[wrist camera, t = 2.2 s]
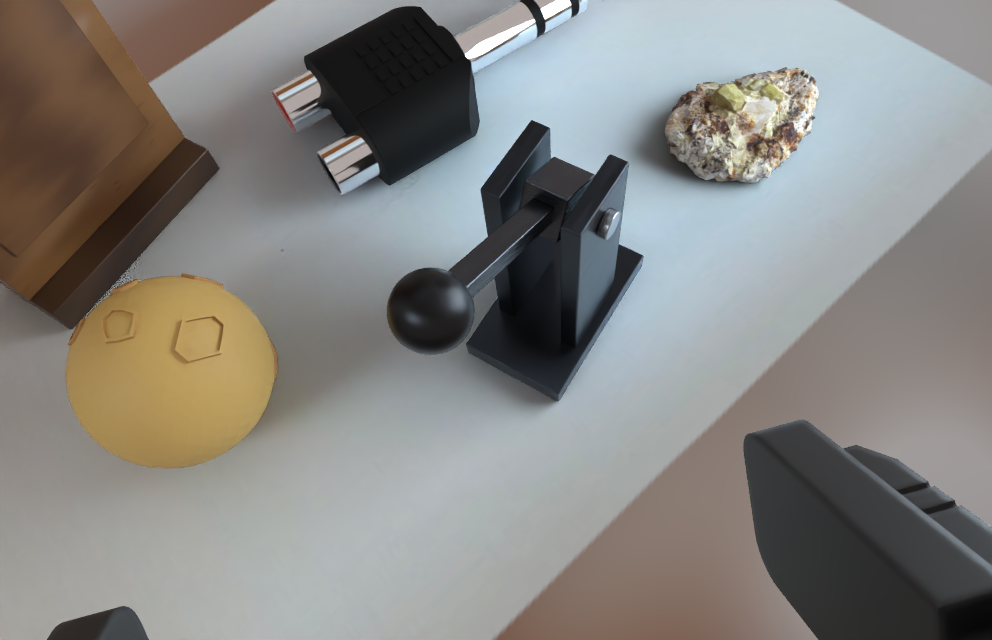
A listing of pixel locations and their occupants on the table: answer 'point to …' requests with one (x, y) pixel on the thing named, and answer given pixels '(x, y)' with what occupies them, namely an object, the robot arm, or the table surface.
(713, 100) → the mineral rock
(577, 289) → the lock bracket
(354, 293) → the table surface
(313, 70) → the audio adapter
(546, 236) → the lever
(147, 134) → the door
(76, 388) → the stress ball
